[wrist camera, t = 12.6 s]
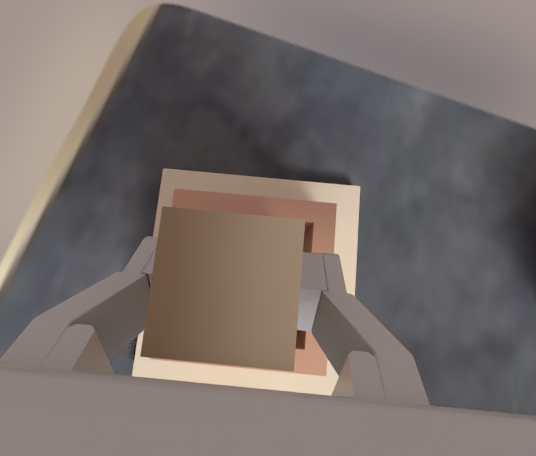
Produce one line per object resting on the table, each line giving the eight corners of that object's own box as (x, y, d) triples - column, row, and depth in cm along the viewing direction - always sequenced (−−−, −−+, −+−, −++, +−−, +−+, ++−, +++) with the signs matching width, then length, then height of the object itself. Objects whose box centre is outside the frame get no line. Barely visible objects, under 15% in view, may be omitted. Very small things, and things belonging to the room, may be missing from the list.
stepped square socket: (355, 190, 19) (385, 162, 14) (344, 390, 18) (375, 437, 13) (168, 173, 19) (135, 139, 14) (139, 371, 18) (90, 409, 13)
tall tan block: (281, 252, 16) (305, 219, 6) (276, 309, 16) (293, 371, 6) (225, 246, 16) (162, 205, 6) (218, 304, 16) (140, 356, 6)
